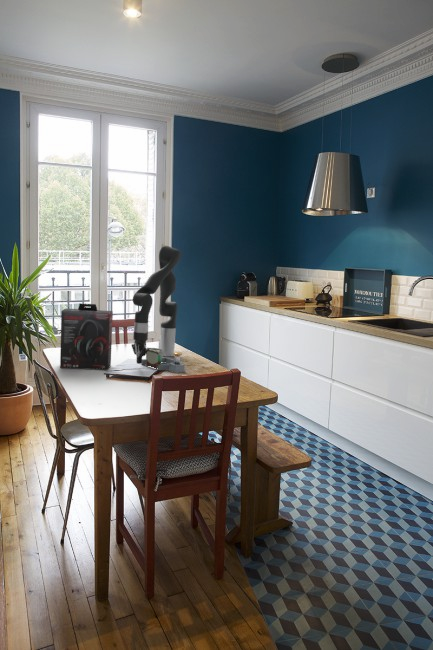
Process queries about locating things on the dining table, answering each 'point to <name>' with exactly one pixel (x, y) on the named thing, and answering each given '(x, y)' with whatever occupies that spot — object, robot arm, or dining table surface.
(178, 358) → the pin
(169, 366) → the frame
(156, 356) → the food container
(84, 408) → the dining table surface
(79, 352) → the headset box
